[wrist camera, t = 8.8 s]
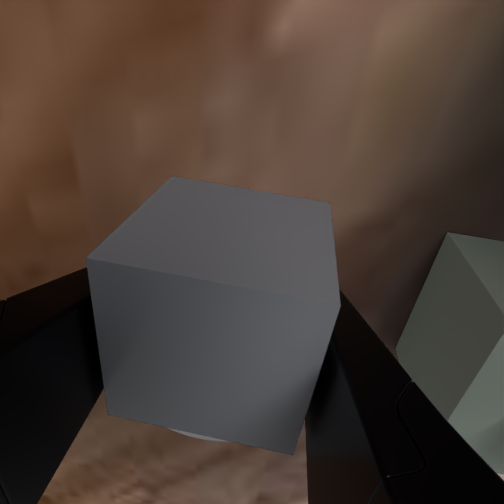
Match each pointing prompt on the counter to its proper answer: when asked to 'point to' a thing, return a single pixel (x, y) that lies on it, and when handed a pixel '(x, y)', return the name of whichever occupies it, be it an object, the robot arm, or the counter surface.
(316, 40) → the counter surface
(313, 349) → the slate cube
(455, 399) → the sage camera
